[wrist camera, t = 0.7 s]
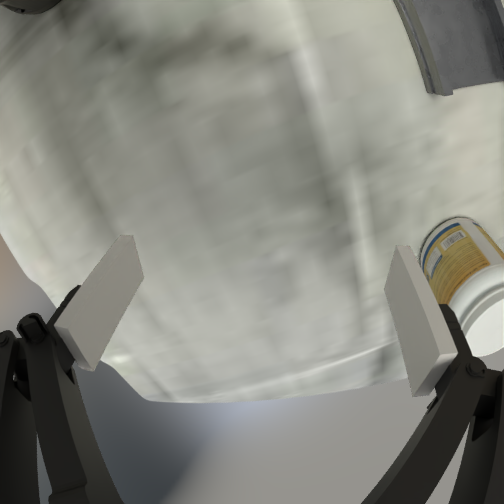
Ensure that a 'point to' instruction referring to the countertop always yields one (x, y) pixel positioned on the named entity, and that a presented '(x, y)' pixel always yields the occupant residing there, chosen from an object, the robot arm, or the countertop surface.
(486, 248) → the supplement tub
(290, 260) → the countertop surface
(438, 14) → the cradle
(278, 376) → the countertop surface
